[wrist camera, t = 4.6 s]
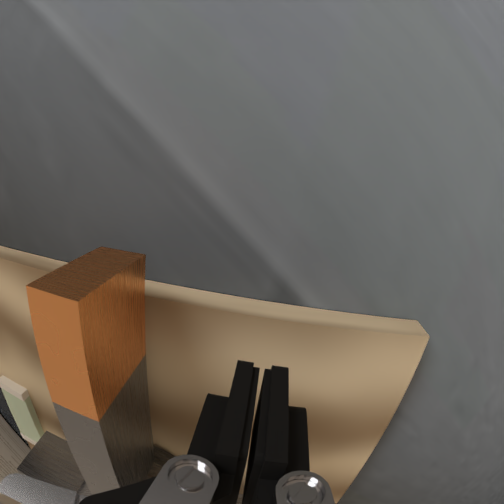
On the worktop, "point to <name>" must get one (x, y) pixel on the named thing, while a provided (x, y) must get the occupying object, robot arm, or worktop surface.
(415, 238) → the worktop surface
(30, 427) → the level window
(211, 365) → the stand plate
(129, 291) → the capstan
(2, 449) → the supplement box
